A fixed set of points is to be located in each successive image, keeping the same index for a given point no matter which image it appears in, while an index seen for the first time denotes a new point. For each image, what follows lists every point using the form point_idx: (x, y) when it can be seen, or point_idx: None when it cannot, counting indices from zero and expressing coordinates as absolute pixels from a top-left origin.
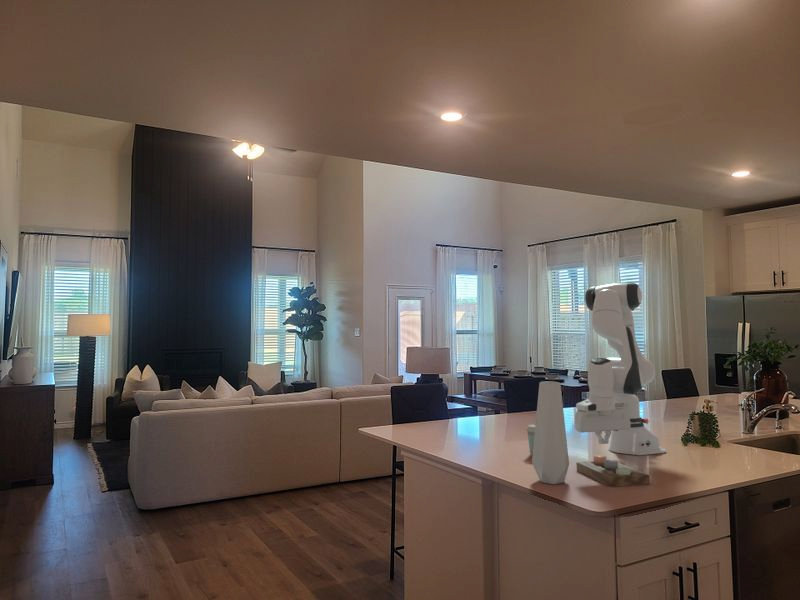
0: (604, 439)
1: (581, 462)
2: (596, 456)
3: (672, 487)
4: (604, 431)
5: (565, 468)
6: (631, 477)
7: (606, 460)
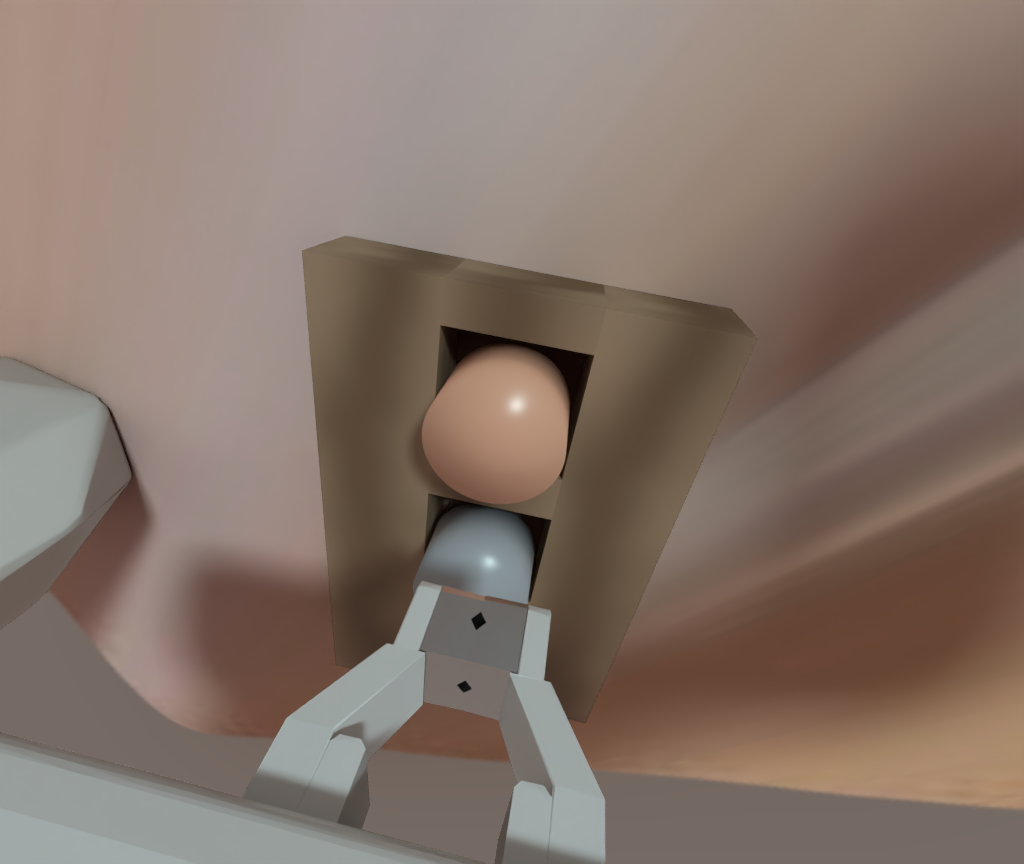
0: (457, 698)
1: (345, 293)
2: (452, 433)
3: (640, 729)
4: (509, 814)
5: (32, 601)
6: None
7: (436, 579)
